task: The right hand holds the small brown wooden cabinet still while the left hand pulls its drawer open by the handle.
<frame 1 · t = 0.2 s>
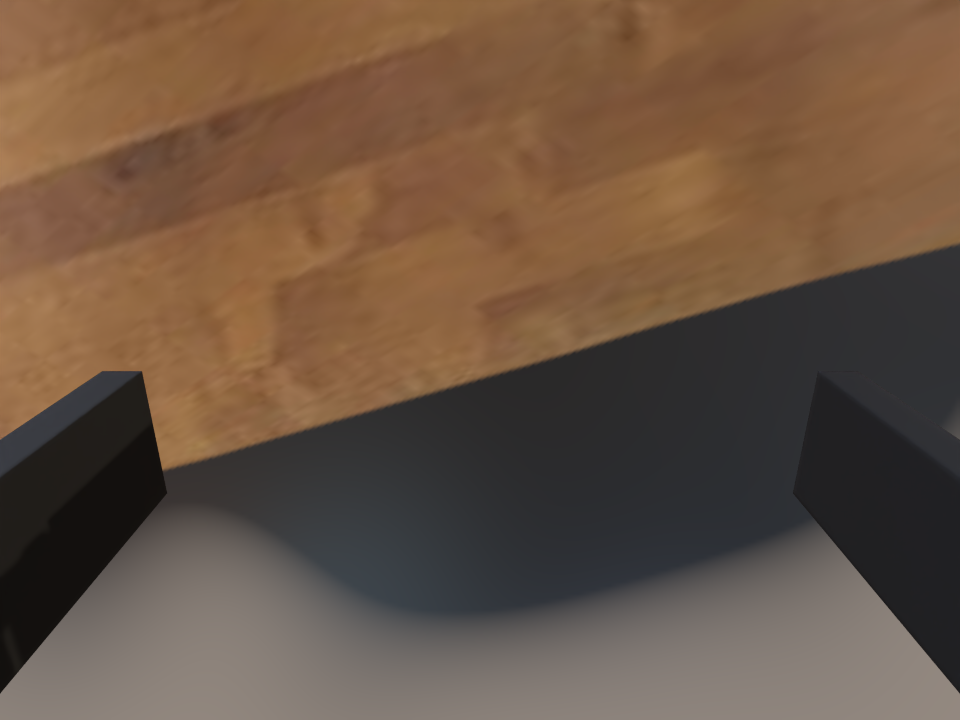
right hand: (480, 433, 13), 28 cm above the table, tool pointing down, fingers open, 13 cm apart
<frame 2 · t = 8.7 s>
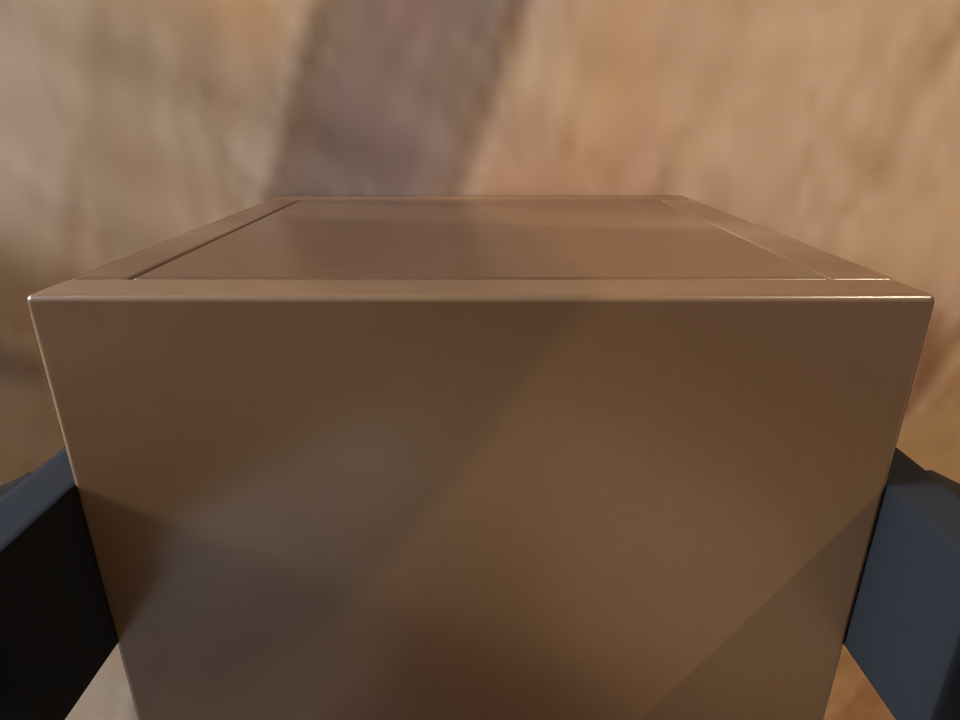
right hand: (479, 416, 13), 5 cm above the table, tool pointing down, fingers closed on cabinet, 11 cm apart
cabinet: (480, 460, 20), on the table, touching right hand
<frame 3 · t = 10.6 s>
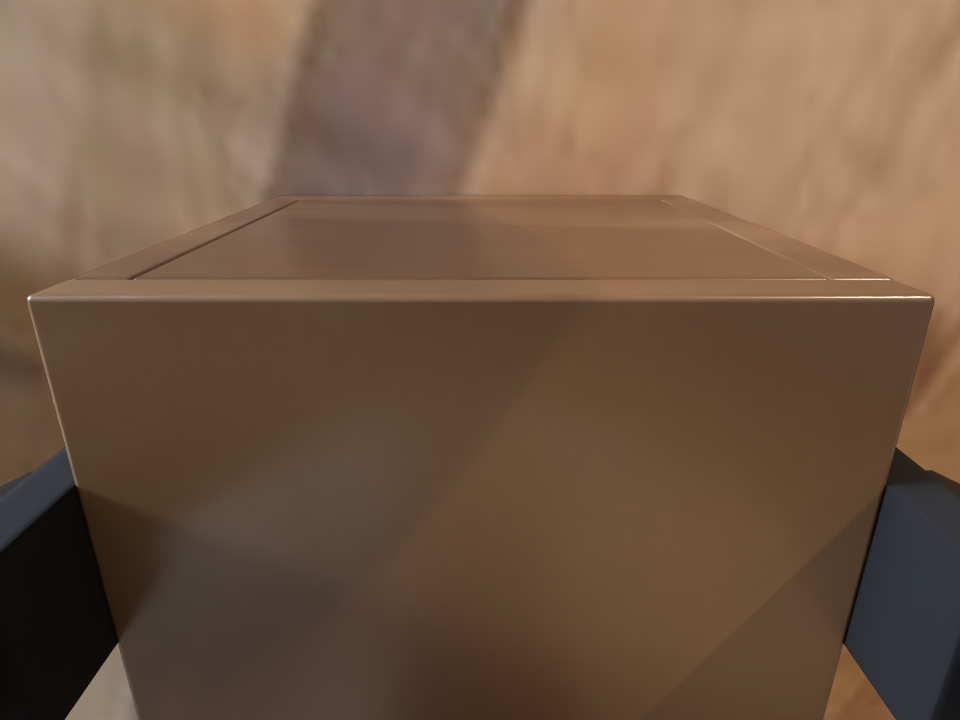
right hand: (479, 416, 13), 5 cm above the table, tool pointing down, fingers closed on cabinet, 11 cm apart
cabinet: (480, 460, 20), on the table, touching right hand
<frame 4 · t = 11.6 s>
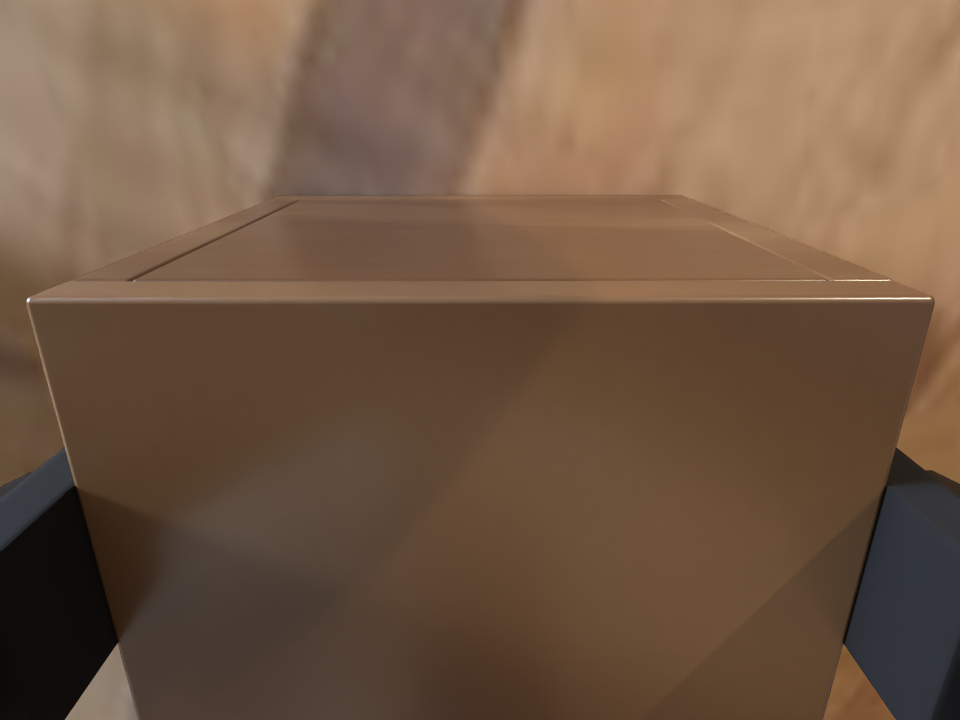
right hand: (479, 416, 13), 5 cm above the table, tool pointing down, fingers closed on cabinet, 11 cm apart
cabinet: (480, 460, 20), on the table, touching right hand
when the right hand's fingers open (5 cm above the table, at t = 13.7 s): cabinet stays where it is, on the table.
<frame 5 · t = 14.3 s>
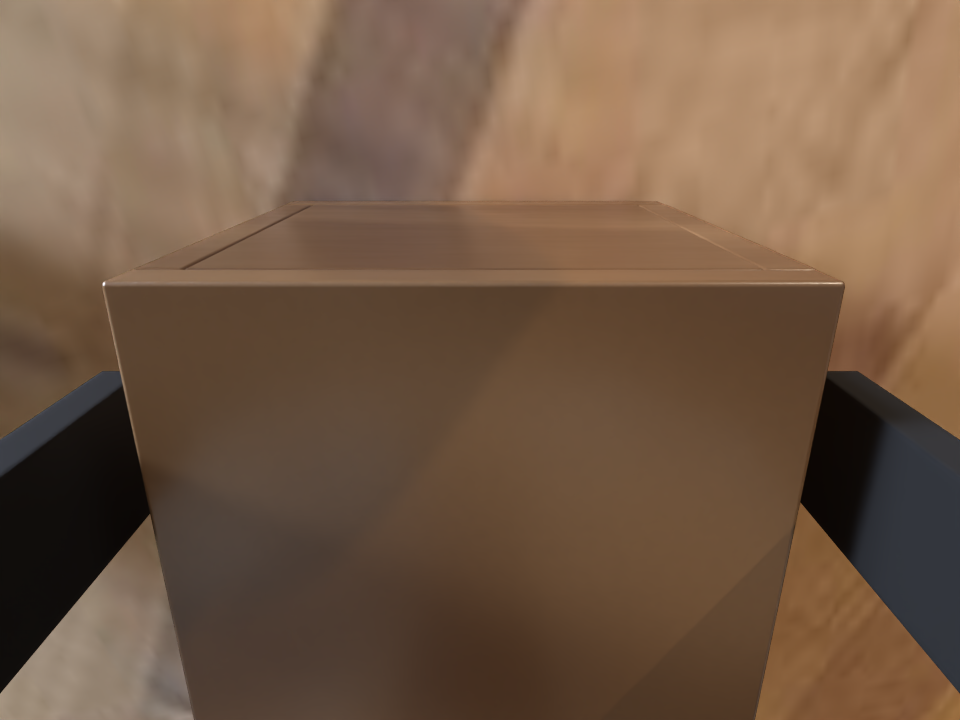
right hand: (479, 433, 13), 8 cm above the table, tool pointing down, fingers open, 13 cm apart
cabinet: (475, 445, 21), on the table
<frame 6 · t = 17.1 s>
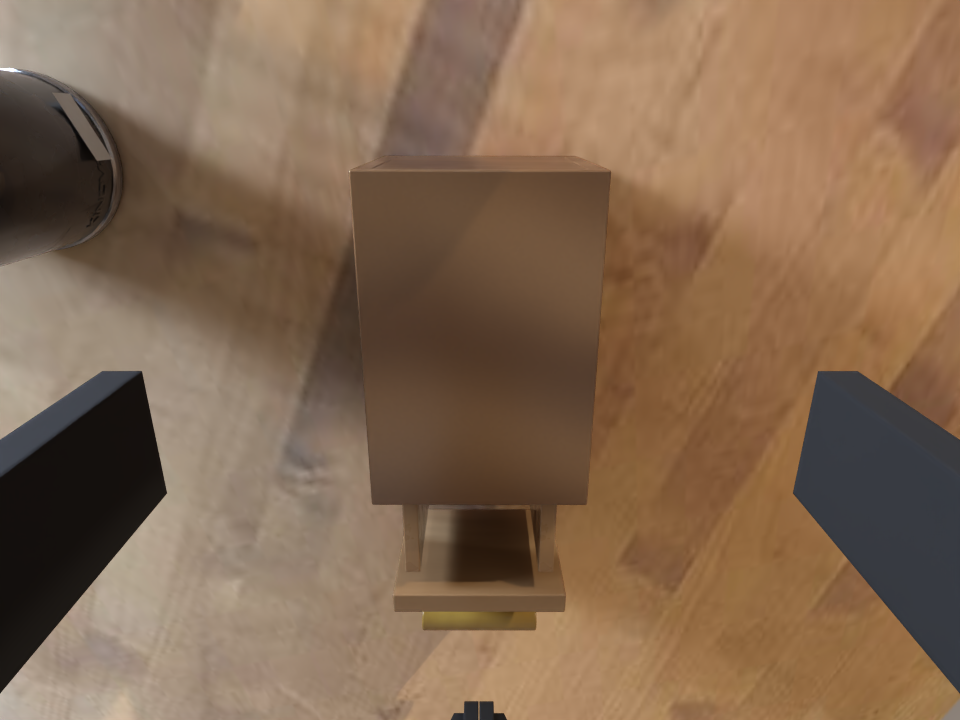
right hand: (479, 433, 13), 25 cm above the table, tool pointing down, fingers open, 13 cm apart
drawer: (479, 496, 37), point 5 cm above the table, slide at 6.4 cm
cabinet: (479, 296, 38), on the table
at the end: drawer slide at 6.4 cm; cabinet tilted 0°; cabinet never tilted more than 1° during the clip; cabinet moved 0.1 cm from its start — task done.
